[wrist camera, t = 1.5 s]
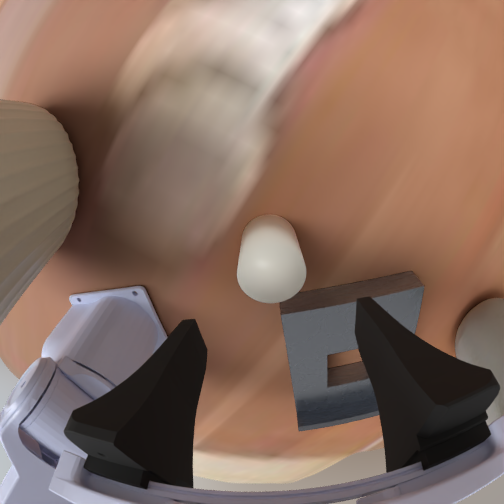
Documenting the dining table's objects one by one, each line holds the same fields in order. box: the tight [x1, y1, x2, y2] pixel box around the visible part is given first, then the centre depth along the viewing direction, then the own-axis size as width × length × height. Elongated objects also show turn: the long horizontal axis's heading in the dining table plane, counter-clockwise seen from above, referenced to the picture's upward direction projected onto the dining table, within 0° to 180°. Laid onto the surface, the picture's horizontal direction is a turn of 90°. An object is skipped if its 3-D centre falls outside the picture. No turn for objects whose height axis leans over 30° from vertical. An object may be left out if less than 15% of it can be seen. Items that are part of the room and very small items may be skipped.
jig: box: [280, 271, 424, 431], centre depth 23 cm, size 12×16×4 cm
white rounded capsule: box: [237, 214, 306, 303], centre depth 18 cm, size 4×4×5 cm
